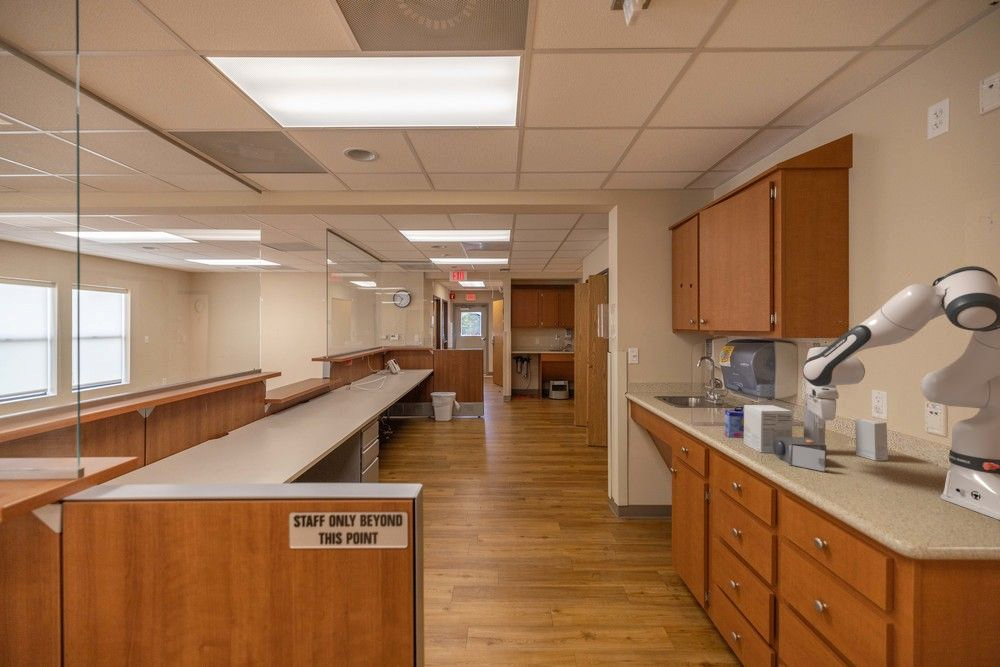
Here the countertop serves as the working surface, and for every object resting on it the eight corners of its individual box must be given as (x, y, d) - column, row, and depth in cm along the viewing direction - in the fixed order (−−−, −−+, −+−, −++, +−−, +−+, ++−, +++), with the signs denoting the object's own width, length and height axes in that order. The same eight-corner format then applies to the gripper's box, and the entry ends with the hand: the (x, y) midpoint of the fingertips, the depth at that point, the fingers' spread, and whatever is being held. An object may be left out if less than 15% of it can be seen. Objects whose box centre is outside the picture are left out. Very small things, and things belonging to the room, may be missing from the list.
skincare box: (888, 460, 165) (889, 422, 165) (874, 461, 164) (875, 423, 164) (866, 454, 173) (867, 418, 173) (853, 454, 172) (854, 418, 172)
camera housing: (826, 466, 157) (826, 443, 157) (787, 465, 159) (787, 441, 159) (807, 457, 168) (808, 435, 168) (771, 456, 170) (771, 434, 170)
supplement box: (793, 453, 174) (793, 411, 173) (760, 453, 174) (761, 410, 174) (772, 444, 187) (773, 404, 187) (742, 444, 187) (743, 404, 187)
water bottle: (829, 455, 171) (831, 393, 171) (807, 454, 173) (809, 393, 172) (817, 448, 180) (818, 390, 180) (796, 447, 182) (798, 389, 181)
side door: (823, 471, 151) (824, 451, 150) (788, 464, 158) (788, 445, 158) (824, 470, 152) (825, 451, 151) (789, 463, 159) (789, 444, 159)
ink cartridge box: (728, 437, 197) (729, 406, 197) (723, 434, 203) (724, 404, 203) (751, 438, 197) (751, 407, 196) (745, 435, 202) (745, 405, 202)
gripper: (802, 385, 165) (802, 420, 166) (817, 393, 147) (816, 433, 147) (822, 386, 163) (821, 422, 163) (840, 394, 144) (839, 435, 145)
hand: (819, 427), depth 155 cm, fingers closed
